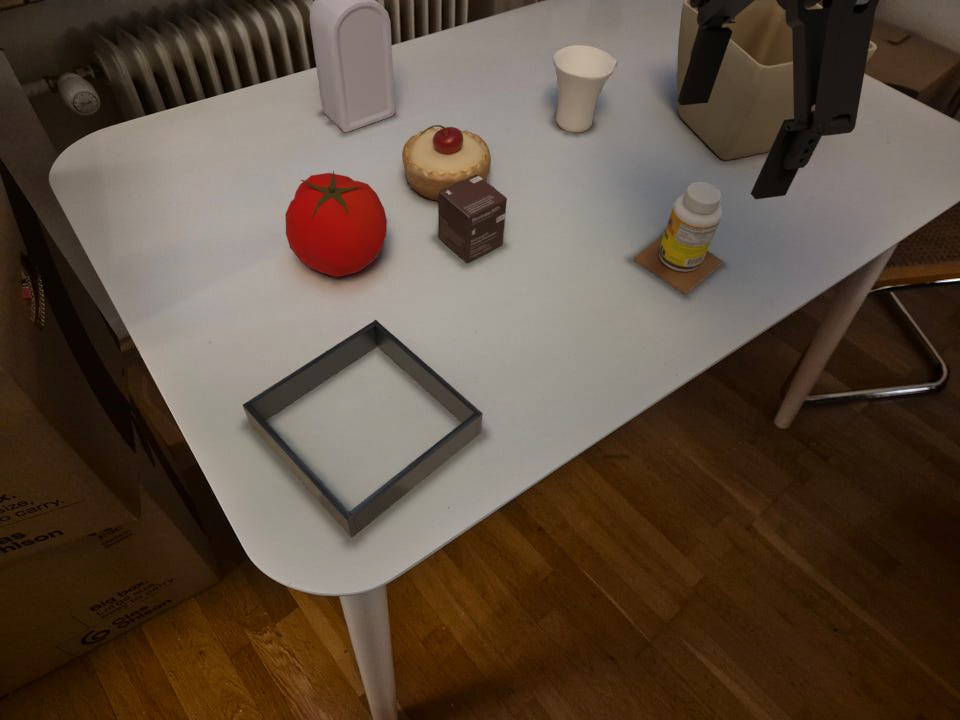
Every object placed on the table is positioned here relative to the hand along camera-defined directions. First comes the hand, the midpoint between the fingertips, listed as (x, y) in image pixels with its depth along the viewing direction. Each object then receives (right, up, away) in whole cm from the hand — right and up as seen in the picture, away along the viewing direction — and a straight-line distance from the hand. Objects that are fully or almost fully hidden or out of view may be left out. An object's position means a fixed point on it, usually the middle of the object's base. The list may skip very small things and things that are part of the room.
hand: (727, 145), depth 57 cm
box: (-22, -3, +28) cm, 36 cm away
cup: (-7, +18, +46) cm, 49 cm away
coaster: (+4, -6, +27) cm, 28 cm away
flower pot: (+18, +17, +46) cm, 52 cm away
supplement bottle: (+4, -6, +27) cm, 28 cm away
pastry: (-26, +6, +35) cm, 44 cm away
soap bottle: (-39, +18, +44) cm, 61 cm away
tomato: (-38, -6, +24) cm, 46 cm away
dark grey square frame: (-32, -25, +10) cm, 42 cm away
